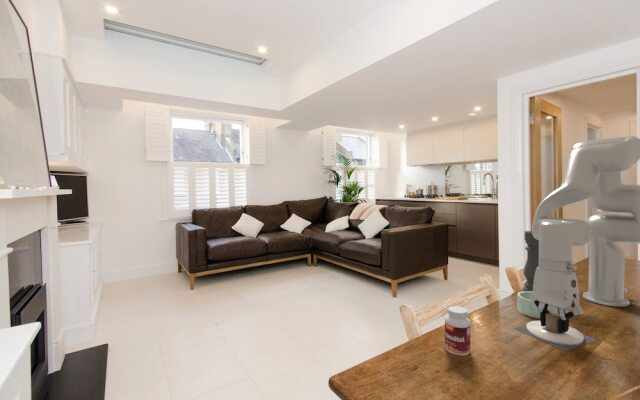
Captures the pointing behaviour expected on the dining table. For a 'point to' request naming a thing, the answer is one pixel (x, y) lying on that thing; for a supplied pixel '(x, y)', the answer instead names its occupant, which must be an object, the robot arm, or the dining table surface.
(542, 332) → the lid
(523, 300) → the bowl
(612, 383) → the dining table surface
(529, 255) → the candle holder
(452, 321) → the pill bottle
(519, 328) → the mat
